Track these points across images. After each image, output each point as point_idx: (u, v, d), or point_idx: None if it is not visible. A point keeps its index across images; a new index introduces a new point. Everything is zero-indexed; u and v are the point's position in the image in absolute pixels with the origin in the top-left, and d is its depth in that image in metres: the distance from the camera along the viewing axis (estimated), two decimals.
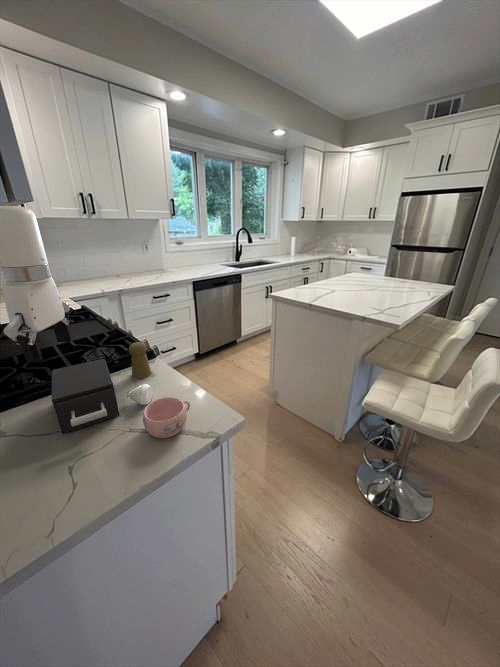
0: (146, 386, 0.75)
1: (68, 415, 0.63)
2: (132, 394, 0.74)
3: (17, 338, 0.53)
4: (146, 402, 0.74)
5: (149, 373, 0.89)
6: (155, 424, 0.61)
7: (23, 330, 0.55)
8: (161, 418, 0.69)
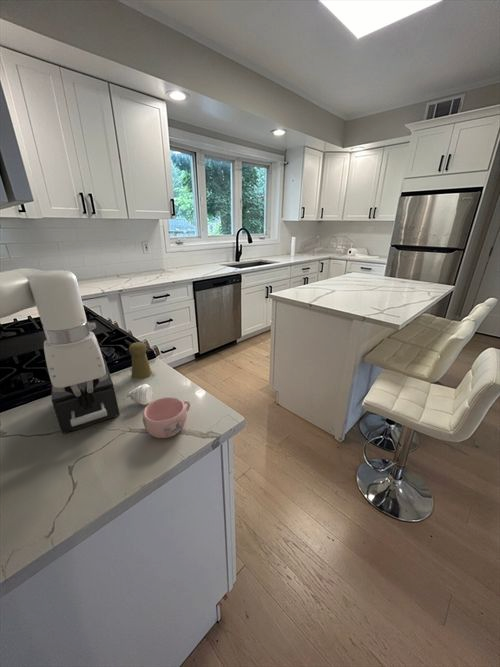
0: (146, 386, 0.75)
1: (68, 415, 0.63)
2: (132, 394, 0.74)
3: (64, 388, 0.59)
4: (146, 402, 0.74)
5: (149, 373, 0.89)
6: (155, 424, 0.61)
7: None
8: (161, 418, 0.69)
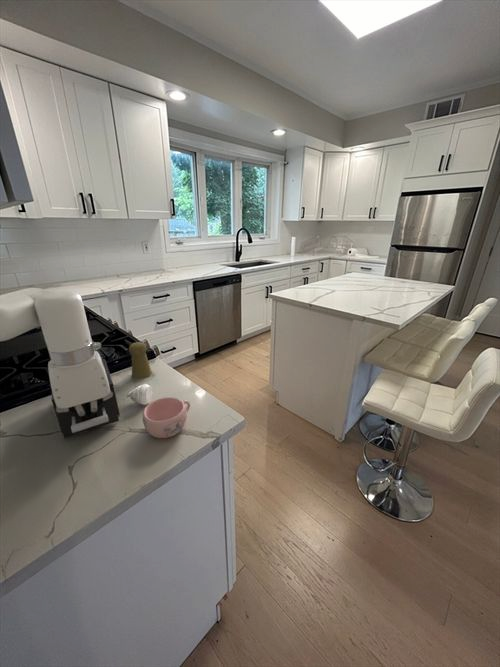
0: (146, 386, 0.75)
1: (68, 421, 0.62)
2: (132, 394, 0.74)
3: (68, 408, 0.58)
4: (146, 402, 0.74)
5: (149, 373, 0.89)
6: (155, 424, 0.61)
7: None
8: (161, 418, 0.69)
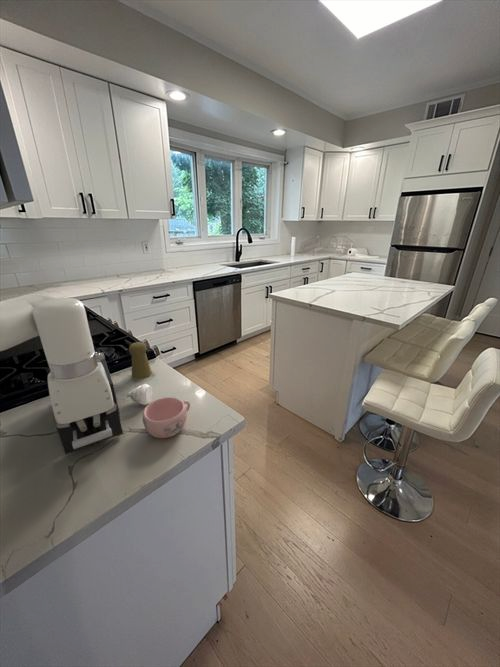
0: (146, 386, 0.75)
1: (69, 435, 0.58)
2: (132, 394, 0.74)
3: (69, 424, 0.54)
4: (146, 402, 0.74)
5: (149, 373, 0.89)
6: (155, 424, 0.61)
7: None
8: (161, 418, 0.69)
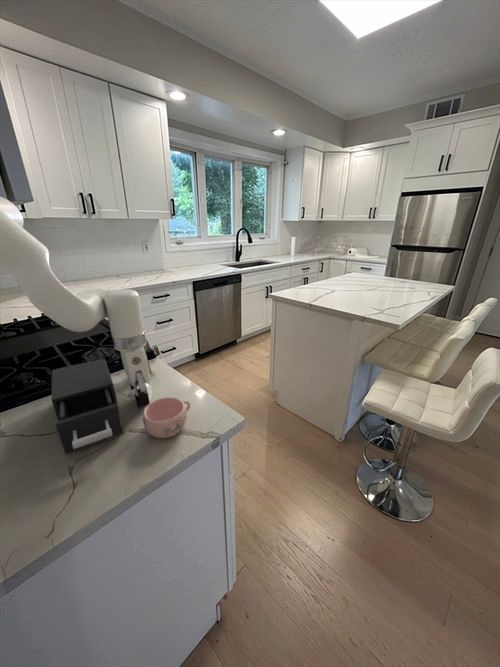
0: (146, 385, 0.75)
1: (69, 435, 0.58)
2: (132, 393, 0.74)
3: None
4: None
5: None
6: (155, 424, 0.61)
7: None
8: (161, 418, 0.69)
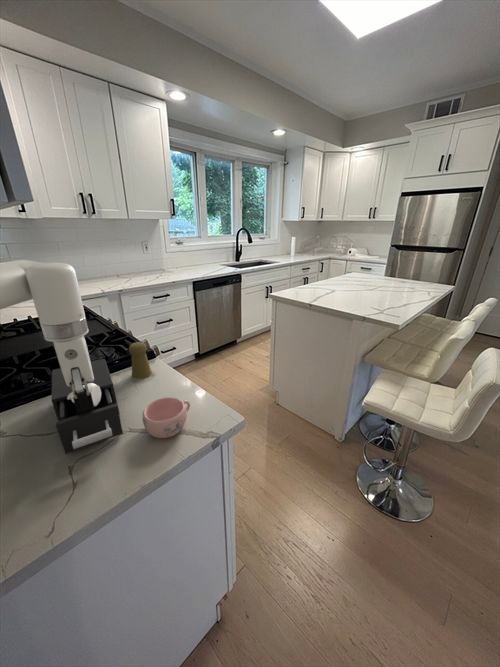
0: (91, 385, 0.61)
1: (69, 435, 0.58)
2: (73, 396, 0.60)
3: None
4: None
5: (149, 373, 0.89)
6: (155, 424, 0.61)
7: None
8: (161, 418, 0.69)
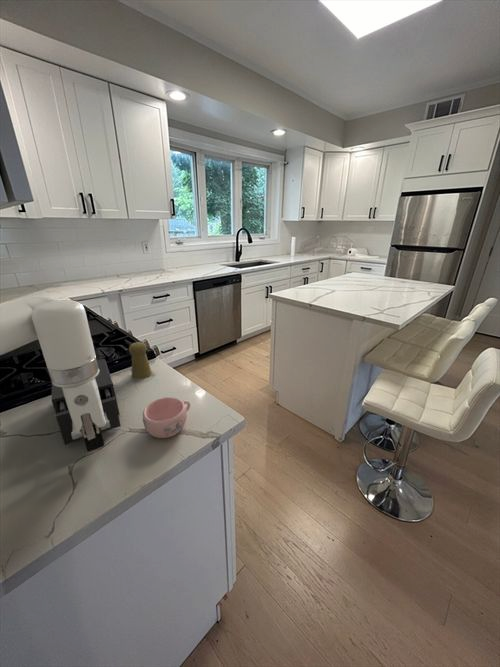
0: None
1: (69, 427, 0.60)
2: None
3: None
4: None
5: (149, 373, 0.89)
6: (155, 424, 0.61)
7: None
8: (161, 418, 0.69)
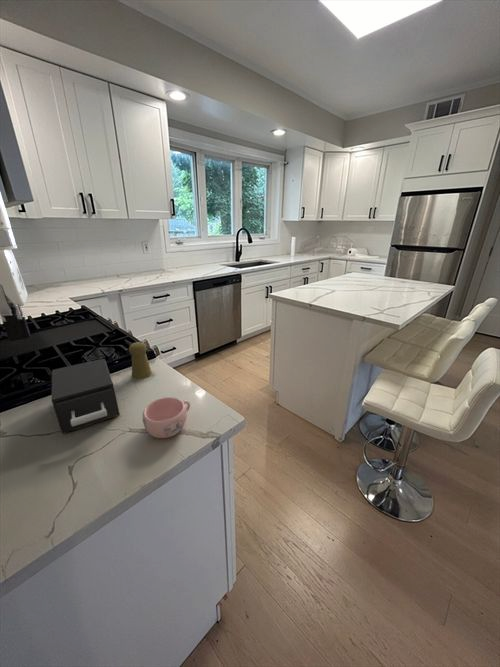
0: None
1: (68, 415, 0.63)
2: None
3: None
4: None
5: (149, 373, 0.89)
6: (155, 424, 0.61)
7: None
8: (161, 418, 0.69)
